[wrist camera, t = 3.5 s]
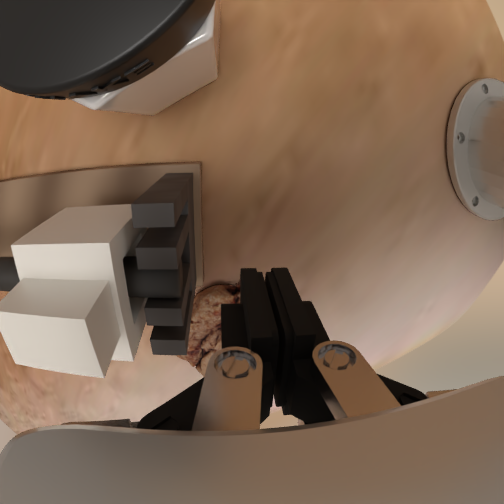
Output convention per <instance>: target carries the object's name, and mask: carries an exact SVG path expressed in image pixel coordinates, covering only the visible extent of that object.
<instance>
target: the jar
mask: <svg viewBox="0 0 504 504" xmlns="http://www.w3.org/2000/svg"><path fill="white" fill-rule="evenodd" d="M220 20H221V0H0V86H1V87H3V88H5V89H7V90H10V91H12V92H15V93H19V94H24V95H27V96H32V97H34V96H35V98H43V99H58V100H66V98H69V99H71V100H73V101H75V102H77V103H79V104H81V105H84V106H86V107H88V108H90V109H92V110H100V111H112V112H122V113H131V114H140V115H148V116H154V115H156V114H158V113H159V112H161V111H162V110H164V109H165V108H167V107H169V106H170V105H172V104H174V103H175V102H177V101H179V100H180V99H182V98H184V97H185V96H187V95H189V94H191V93H192V92H194V91H196V90H198V89H200V88H201V87H203V86H205V85H207V84H209V83H211V82H213V81H215V80H216V79H217V77H218V59H219V38H220Z"/></svg>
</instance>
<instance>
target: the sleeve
mask: <svg viewBox="0 0 504 504" xmlns="http://www.w3.org/2000/svg"><path fill="white" fill-rule="evenodd" d="M146 231H147V228H133V221H132V210H131V204H122V205H101V206H84V207H69V208H65V209H63V210H62V211H60V212H58V213H57V214H55V215H54V216H52V217H51V218H49V219H48V220H46V221H45V222H43V223H42V224H40V225H39V226H37V227H36V228H34V229H33V230H31V231H30V232H28V233H27V234H25V235H24V236H23V237H21V238H20V239H18V240H17V241H16V242H14V243H13V244H12V245H11V248H12V253H13V257H14V261H15V265H16V268H17V272H18V276H19V279H20V282H19V283H18V284H17V285H16V286H15V287H14V288H13V289H12V290H11V291H10V292H9V293H8V294H7V295H6V296H5V297H4V298H3V299H2V300H1V301H0V331H1V333H2V336H3V338H4V340H5V342H6V345H7V347H8V349H9V351H10V353H11V355H12V357H13V359H14V361H15V363H16V364H20V365H24V366H29V367H34V368H39V369H45V370H51V371H56V372H63V373H69V374H76V375H83V376H91V377H99V378H105V375H106V372H107V370H108V367H109V364H110V362H111V360H120V361H134V358H135V355H136V352H137V349H138V345H139V342H140V339H141V336H142V333H143V330H144V327H145V324H146V316H145V311H144V307H145V304H146V301H147V299H148V298H142V297H129V296H128V290H127V285H126V279H125V273H124V266H123V258H124V257H125V256H136V249H135V248H136V246H137V245H138V243H139V242H140V240H141V239H142V237H143V236H144V234H145V233H146Z"/></svg>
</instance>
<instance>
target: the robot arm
mask: <svg viewBox="0 0 504 504" xmlns="http://www.w3.org/2000/svg"><path fill="white" fill-rule="evenodd" d="M447 159H448V167H449V172H450V176H451V180H452V183H453V186H454V188H455V191H456V193H457V195H458V197H459V199H460V200H461V202H462V204H463V205H464V206H465V207H466V208H467V209H468V210H469V211H470V212H472V213H473V214H475V215H476V216H478V217H481V218H483V219H485V220H492V221H494V220H499V219H502V218H504V82H502V81H499V80H497V79H491V78H483V79H476V80H474V81H472V82H470V83H468V84H467V85H466V86H465V87H464V88H463V89H462V90H461V92H460V93H459V95H458V96H457V98H456V100H455V103H454V105H453V107H452V110H451V114H450V118H449V123H448V131H447ZM221 344H222V349H220V350H218V351H216V352H215V353H214V354H213V355H212V356H211V357H210V359H209V361H208V365H207V369H206V373H205V377H204V378H202V379H201V380H199V381H198V382H196V383H195V384H193V385H192V386H190V387H189V388H187V389H186V390H184V391H183V392H181V393H180V394H178V395H177V396H175V397H174V398H172V399H170V400H169V401H167V402H166V403H164V404H163V405H161V406H160V407H158V408H156V409H155V410H153V411H152V412H150V413H148V414H147V415H146V416H144V417H143V418H142V419H141V420H140V422H131V421H130V419H122V420H109V421H91V422H68V423H63V424H61V425H52V426H45V427H38V428H34V429H30V430H27V431H24V432H22V433H20V434H18V435H16V436H15V437H14V438H13V439H12V440H10V441H9V442H8V444H7V445H6V446H5V447H4V449H3V450H2V452H1V454H0V504H504V376H499V377H495V378H491V379H487V380H484V381H481V382H478V383H475V384H472V385H469V386H466V387H463V388H460V389H454V390H443V391H430V392H427V393H426V395H425V394H423V393H422V392H420V391H419V390H416V389H414V388H412V387H409V386H406V385H404V384H401V383H399V382H396V381H394V380H391V379H389V378H386V377H384V376H381V375H379V374H376V373H375V371H374V370H373V369H372V367H371V366H370V365H369V364H368V362H367V361H366V360H365V358H364V357H363V356H362V355H361V353H360V352H359V351H358V350H357V349H356V348H355V347H354V346H352V345H350V344H348V343H345V342H342V341H330V339H329V337H328V335H327V333H326V331H325V329H324V327H323V325H322V323H321V320H320V318H319V316H318V314H317V312H316V310H315V308H314V306H313V304H312V302H311V301H302V300H301V298H300V295H299V293H298V291H297V289H296V286H295V284H294V282H293V280H292V277H291V275H290V273H289V271H288V269H287V268H272V269H271V272H266V277H265V281H264V277H263V274H262V272H257V270H256V268H241V274H240V303H235V304H221ZM273 394H274V399H275V404H276V406H277V407H279V406H282V410H283V414H284V415H293V416H295V417H296V418H298V426H289V427H279V428H267V429H260V424H261V423H262V422H263V421H264V420H265V419H266V418H267V417H268V416H269V414H270V407H272V402H273Z"/></svg>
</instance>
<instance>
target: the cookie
mask: <svg viewBox="0 0 504 504" xmlns="http://www.w3.org/2000/svg"><path fill="white" fill-rule="evenodd" d="M235 303H240V281H239V283H238V284H237V283H236V286H234V285H231V284H228V286H227V285H221V284H220V285H214V286H212V287H209V288H207V289H205V290H203V291H201V292H199V293H198V294H197V295H196V296H195V297H194V302H193V310H192V317H191V325H190V333H189V341H188V349H187V355H177V357H179V358H181V359H183V360H187V361H188V362H189V363H190V364H191V366H193V367H194V365H195V366H197V367H195V368H196V369H197V370H198V371H199V372H200V373H201V374H202V375H203V376H204V377H205V373H206V369H207V365H208V361H209V359H210V357H211V356H212V355H213V354H214V353H215V352H216V351H218V350H220V349H222V344H221V304H235Z"/></svg>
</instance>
